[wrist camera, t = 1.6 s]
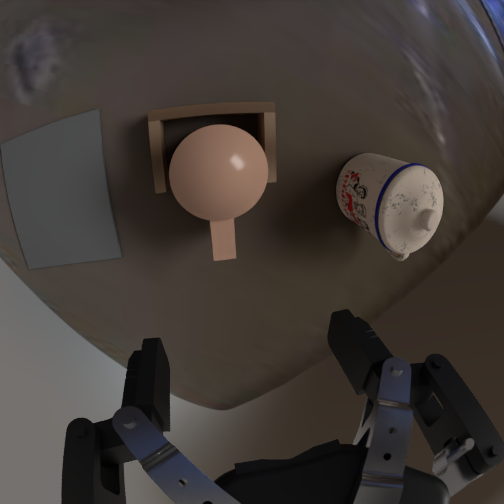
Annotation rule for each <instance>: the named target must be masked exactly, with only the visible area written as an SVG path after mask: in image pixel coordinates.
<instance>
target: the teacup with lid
mask: <svg viewBox="0 0 504 504" xmlns="http://www.w3.org/2000/svg"><path fill="white" fill-rule="evenodd" d="M336 196H337V201H338V205H339V207H340V209H341V211H342V212H343V214H344V215H345V216H346V217H347V218H349V219H350V220H352V221H353V222H354V223H356V224H357V225H359V226H360V227H362V228H363V229H364V230H366V231H367V232H369V233H370V234H371V235H373V236H374V237H375V238H377V239H378V240H379V241H380V242H381V244H382V245H383V246H384V247H385V248H386V250H387V251H388V252H389V254H390V255H391V256H392V257H393V258H394V259H396V260H398V261H403V260H404V259H406V258H407V257H408V256H409V253H411V252H414V251H416V250H418V249H420V248H421V247H422V246H424V245H425V244H426V243H427V242H428V241H429V239H430V238H431V237H432V235H433V234H434V232H435V231H436V229H437V227H438V224H439V222H440V219H441V215H442V210H443V192H442V188H441V185H440V182H439V180H438V179H437V177H436V176H435V174H434V173H433V172H432V171H431V170H430V169H429V168H427V167H426V166H424V165H422V164H417V163H411V164H410V163H406V162H403V161H400V160H396V159H392V158H389V157H385V156H381V155H377V154H373V153H364V154H360V155H357V156H355V157H354V158H352V159H351V160H350V161H348V162H347V163H346V165H345V166H344V167H343V169H342V171H341V172H340V175H339V177H338V181H337V186H336Z"/></svg>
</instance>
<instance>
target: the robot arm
mask: <svg viewBox="0 0 504 504" xmlns="http://www.w3.org/2000/svg"><path fill="white" fill-rule="evenodd" d="M328 344H329V346H330V348H331V350H332V352H333V353H334V355H335V357H336V359H337V360H338V362H339V364H340V366H341V367H342V369H343V371H344V373H345V374H346V376H347V378H348V380H349V381H350V383H351V384H352V387H353V388H354V390H355V392H356V394H357V395H361V394H364V393H366V394H367V396H368V397H367V400H366V403H365V408H364V412H363V416H362V419H361V423H360V427H359V430H358V433H357V435H356V438H355V440H354V442H353V444H340V443H339V441H338V439H336V440H334V441H331V442H327V443H324V444H322V445H318V446H315V447H313V448H311V449H309V450H307V451H305V452H303V453H301V454H300V455H298V456H296V457H294V458H292V459H285V460H267V459H266V460H265V459H262V460H261V459H260V460H255V461H249V462H243V463H235V464H234V465H235V469H233V470H230V471H228V472H226V473H224V474H223V475H221V476H220V477H218V478H217V479H216V480H215V481H214V482H213V481H212V480H211V479H209V478H208V477H207V476H206V475H205V474H204V473H202V472H201V471H200V470H199V469H198V468H197V467H196V466H195V465H194V464H192V463H191V462H190V461H189V460H188V459H187V458H186V457H185V456H184V455H183V454H182V453H181V452H180V451H179V450H178V449H177V448H176V447H175V446H173V445H172V444H171V443H170V442H169V441H168V440H167V439H166V438H165V437H164V436H163V432H164V431H170V366H169V361H168V358H167V355H166V353H165V350H164V347H163V344H162V341H161V339H160V338H148V339H144V340H143V344H142V350H138V351H134V352H133V354H132V355H131V357H130V358H129V361H128V366H127V373H126V379H125V386H124V392H123V400H122V406H121V408H120V409H119V410H117V411H116V412H115V414H114V416H113V417H112V418H111V419H108V420H104V421H100V422H96V423H92V422H91V421H90V420H88V419H86V418H77V419H74V420H73V421H71V422H70V423H69V425H68V427H67V431H66V438H65V448H64V456H63V470H62V504H126V497H125V486H124V485H125V484H124V466H123V465H124V463H125V462H129V461H133V460H138V461H139V462H140V463H141V465H142V467H143V469H144V470H145V471H146V473H147V474H148V475H149V476H150V477H151V479H152V480H153V481H154V482H155V483H156V484H157V485H158V486H159V487H160V489H161V490H162V491H163V492H164V493H165V494H166V495H167V496H168V497H169V498H170V499H171V500H172V501H173V502H174V503H175V504H449V499H450V497H451V496H453V495H454V494H455V493H457V492H458V491H460V490H461V489H462V488H464V487H465V486H466V485H468V484H469V483H470V482H472V481H474V480H475V479H477V478H478V477H480V476H482V475H483V474H485V473H486V472H488V471H489V470H491V469H492V468H494V467H495V466H497V465H498V464H499V463H501V462H502V460H503V458H504V442H503V440H502V438H501V437H500V435H499V433H498V432H497V430H496V428H495V427H494V425H493V424H492V422H491V420H490V419H489V417H488V416H487V414H486V413H485V411H484V410H483V408H482V407H481V405H480V404H479V402H478V401H477V399H476V398H475V396H474V395H473V394H472V392H471V391H470V389H469V388H468V387H467V385H466V384H465V382H464V381H463V380H462V378H461V377H460V376H459V374H458V373H457V372H456V370H455V369H454V368H453V366H452V365H451V364H450V362H449V361H448V360H447V359H446V358H445V357H444V356H442V355H440V354H431V355H429V356H428V357H427V358H426V360H425V362H424V363H415V364H409V363H408V362H407V361H405V360H404V359H401V358H397V357H393V356H392V354H391V353H390V352H389V350H388V349H387V348H386V346H385V345H384V344H383V342H382V341H381V340H380V338H379V337H377V335H376V333H375V332H374V331H373V330H372V328H371V327H370V326H369V324H368V323H367V322H366V321H364V320H363V319H361V318H359V317H356V318H355V317H354V316H353V314H352V313H351V312H350V311H349V310H348V309H345V310H340V311H336V312H333V313H332V315H331V320H330V325H329V330H328ZM434 393H435V395H436V396H437V398H438V399H439V401H440V402H441V404H442V406H443V409H442V407H441V406H440V404H439V402H438V401H437V399H436V398H435V397H434V395H433V394H434ZM413 416H414V418H415V420H416V421H417V423H418V425H419V427H420V429H421V430H422V432H423V434H424V436H425V438H426V440H427V442H428V443H429V445H430V447H431V449H432V451H433V453H434V455H435V458H434V462H433V465H434V466H433V468H432V471H433V472H434V473H435V476H433V475H431V474H428V473H425V472H422V471H419V470H417V469H414V468H411V467H409V466H406V465H405V463H406V458H407V453H408V447H409V441H410V434H411V426H412V418H413Z"/></svg>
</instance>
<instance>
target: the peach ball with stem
mask: <svg viewBox="0 0 504 504" xmlns="http://www.w3.org/2000/svg"><path fill="white" fill-rule="evenodd" d="M267 179H268V163H267V159H266V156H265V153H264V151H263V149H262V147H261V146H260V144H259V143H258V142H257V141H256V140H255V138H254V137H252V136H251V135H250V134H249V133H247V132H245V131H244V130H242V129H240V128H237V127H234V126H230V125H210V126H206V127H203V128H200V129H198V130H196V131H194V132H193V133H191V134H190V135H188V136H187V137H186V138H185V139H184V140H183V141H182V142H181V143H180V144H179V146H178V147H177V149H176V150H175V152H174V154H173V157H172V159H171V163H170V169H169V180H170V186H171V189H172V192H173V194H174V196H175V198H176V199H177V201H178V202H179V203H180V204H181V206H182V207H183V208H184V209H186V210H187V211H188V212H190V213H191V214H193V215H195V216H197V217H199V218H202V219H206V220H209V227H210V236H211V243H212V250H213V257H214V261H218V260H226V259H235V258H236V247H235V231H234V218H235V217H238V216H240V215H242V214H244V213H245V212H247V211H248V210H249V209H251V208H252V207H253V206H254V205H255V204H256V203H257V201H258V200H259V199H260V197H261V196H262V194H263V192H264V190H265V187H266V184H267Z"/></svg>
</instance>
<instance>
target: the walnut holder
mask: <svg viewBox="0 0 504 504" xmlns="http://www.w3.org/2000/svg"><path fill="white" fill-rule="evenodd" d="M240 114H257V132H258V143H259V144H260V146H261V147H262V149H263V151H264V153H265V156H266V159H267V163H268V179H267V183H270V182H276V124H275V102H229V103H212V104H199V105H189V106H180V107H172V108H164V109H157V110H151V111H148V125H149V138H150V150H151V160H152V169H153V178H154V186H155V194H157V193H165V192H167V190H168V188H169V176H168V166H167V156H166V144H165V131H164V121H169V120H177V119H186V118H195V117H206V116H220V115H240Z"/></svg>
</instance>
